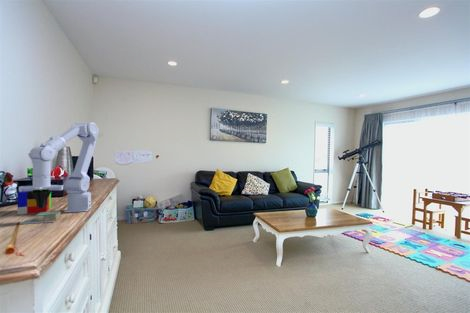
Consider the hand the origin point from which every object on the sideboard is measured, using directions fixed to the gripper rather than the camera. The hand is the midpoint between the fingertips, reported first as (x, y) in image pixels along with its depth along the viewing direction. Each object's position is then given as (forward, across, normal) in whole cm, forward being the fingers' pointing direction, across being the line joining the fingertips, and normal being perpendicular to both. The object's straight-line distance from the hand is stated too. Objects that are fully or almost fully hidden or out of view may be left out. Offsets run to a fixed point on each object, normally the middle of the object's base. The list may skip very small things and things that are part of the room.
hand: (41, 207), depth 96 cm
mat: (+5, 0, 0) cm, 5 cm away
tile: (+4, -1, 0) cm, 4 cm away
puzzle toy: (+6, -10, +18) cm, 22 cm away
